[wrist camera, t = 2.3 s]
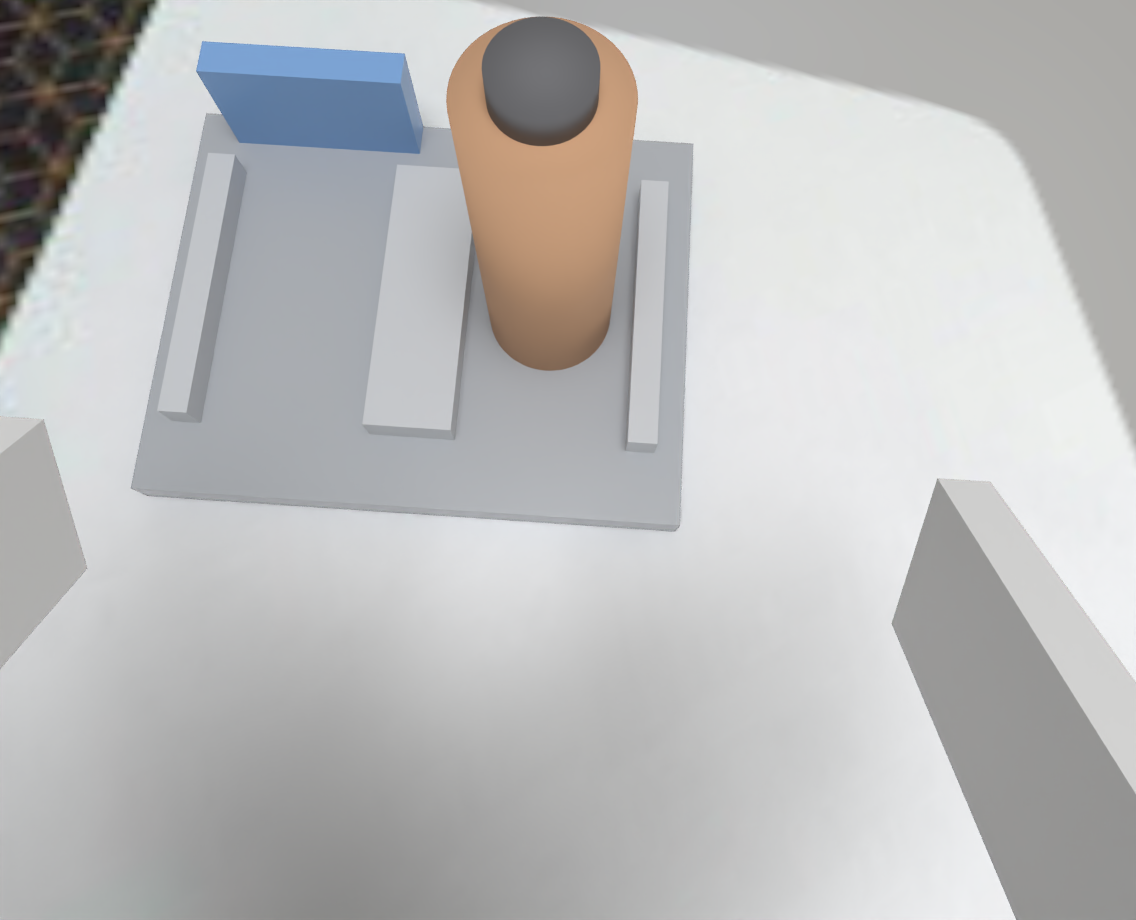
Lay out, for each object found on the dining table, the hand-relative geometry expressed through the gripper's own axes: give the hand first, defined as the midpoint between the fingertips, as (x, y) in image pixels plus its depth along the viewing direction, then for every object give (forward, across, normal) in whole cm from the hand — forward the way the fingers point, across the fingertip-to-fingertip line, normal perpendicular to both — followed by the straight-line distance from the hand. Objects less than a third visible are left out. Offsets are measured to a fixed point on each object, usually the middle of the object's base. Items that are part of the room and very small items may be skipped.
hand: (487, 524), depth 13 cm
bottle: (+19, 0, -4) cm, 19 cm away
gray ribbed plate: (+20, -5, -5) cm, 21 cm away
